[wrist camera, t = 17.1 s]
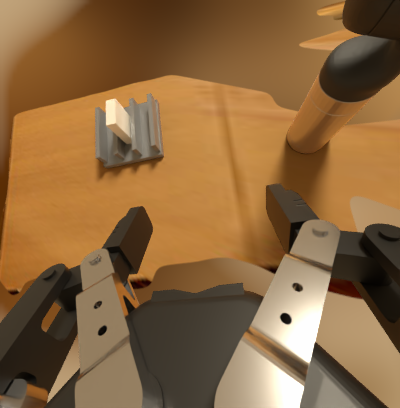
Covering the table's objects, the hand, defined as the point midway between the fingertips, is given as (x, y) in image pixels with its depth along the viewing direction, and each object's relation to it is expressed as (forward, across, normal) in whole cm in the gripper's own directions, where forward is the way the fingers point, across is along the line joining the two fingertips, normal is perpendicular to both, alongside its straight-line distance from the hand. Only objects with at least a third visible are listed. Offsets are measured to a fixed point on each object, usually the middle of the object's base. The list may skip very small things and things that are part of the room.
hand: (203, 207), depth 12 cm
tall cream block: (+45, +23, 0) cm, 51 cm away
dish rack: (+46, +23, +1) cm, 52 cm away
